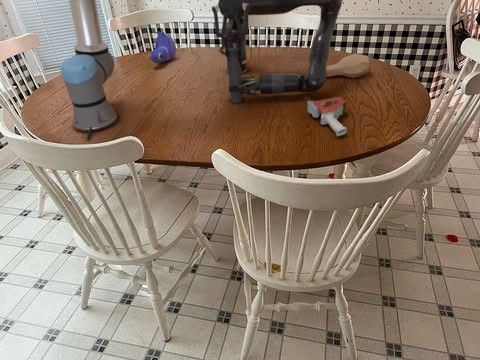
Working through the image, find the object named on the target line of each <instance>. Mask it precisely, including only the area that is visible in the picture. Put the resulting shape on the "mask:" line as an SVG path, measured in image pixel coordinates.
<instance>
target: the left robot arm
mask: <svg viewBox="0 0 480 360" xmlns="http://www.w3.org/2000/svg"><path fill="white" fill-rule="evenodd" d="M68 2H69V7H70V11H71V17H72V21H73V25H74V31H75V35H76V40H77V42H76V44H75V45H74V46H73V48H74V52H75V53H74V54H75V55H73V56H71V57H67V58H65V59H64V60H63V61H62V62H61V64H60V66H59V68H60V72H61V77H62V79H63V82H64V84H65V87H66V90H67V93H68V96H69V99H70V101H71V104H72V108H73V114H72V117H73V118H72V119H73V125H74V128H75V129H76V131H78V132H84V133H87V136H86V140H90V138H91V134H92V132H99V131H102V130H105V129H107V128H110V127H111V126H113V125H115V124H116V122H117V121H118V116H117V113H116V111H115V110H114V108H113V107H112V105H111V103H110V102H109V101H108V99H107V96H106V92H105V89H104V87H103V86H104V84H105V83H106V82H107V81H108V79H109V78H111V76H112V74H113V73H114V69H115V58H114V56H113V55H112V53H111V52H110V50H109V45H108V44H107V43H106V42H105V41H104V39H103V34H102V28H101V22H100V17H99V10H98V3H97V0H68ZM242 6H243V10H244V31H242V27H241V23H240V19H239V14H238V12H239V10H240V8H241V7H242ZM219 8H220V9H221V10H222V12H223V13H224V15H222V17H223V18H222V25H221V31H220V25H219V24H220V23H219V15H218V13H219V12H220V10H219ZM249 9H250V5H249V4H245V3H243V2H242V0H218V3H217V4H215V5H213V6H211V11H212V13H213V18H214V19H213V20H214V30H215V35H216V36H215V37H216V38H220V40H221V46H222V47H223V48H224V52H225V54H224V55H225V57H226V58H227V57H228V46H227V37H225V33H226V25H227V23H228V16H229V15H235V19H236V23H237V27H238V31H239V35H240V36H238V49H239V56H241V46H243V45H244V40H243V37H244V36H245V37H246V36H248V35H249V15H248V12H249Z"/></svg>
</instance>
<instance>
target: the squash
mask: <svg viewBox="0 0 480 360" xmlns="http://www.w3.org/2000/svg"><path fill="white" fill-rule="evenodd" d="M369 69H370V58H369V56H368V55H365V54H360V53H356V52H355V53H352V54H349V55H347V56H344V57H342V58H341V59H340V60H339V62H337V63H335V64H334V63H333V64H330V65H326V78H329V77H330V78H331V77H334V76H335V77H336V76H345V77H347V78H352V79H355V78H361V77H363V76H364V75H365V74H367V73H368V72H369Z"/></svg>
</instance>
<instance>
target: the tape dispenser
mask: <svg viewBox="0 0 480 360" xmlns="http://www.w3.org/2000/svg"><path fill="white" fill-rule="evenodd" d="M329 102H331V105H328V106H326V103H329ZM346 105H347V103H346V100H345V99H344V98H343V97H342V96H333V97H331V98H329V97H328V98H325V99H320V100H315V101H314V100H308V101H307V113H308V114H311V116H312V118H319V117H320V125H329V127H330V128H331V129H332V130H333V132H334V133H335V136H336V137H340V136H344V135H345V134H346V133H347V131H348V128H347V127H345V126H344V125H343V124H342V123H340V121H338V119H339V117H340V116H343V115H344V113H345V110H346Z"/></svg>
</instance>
